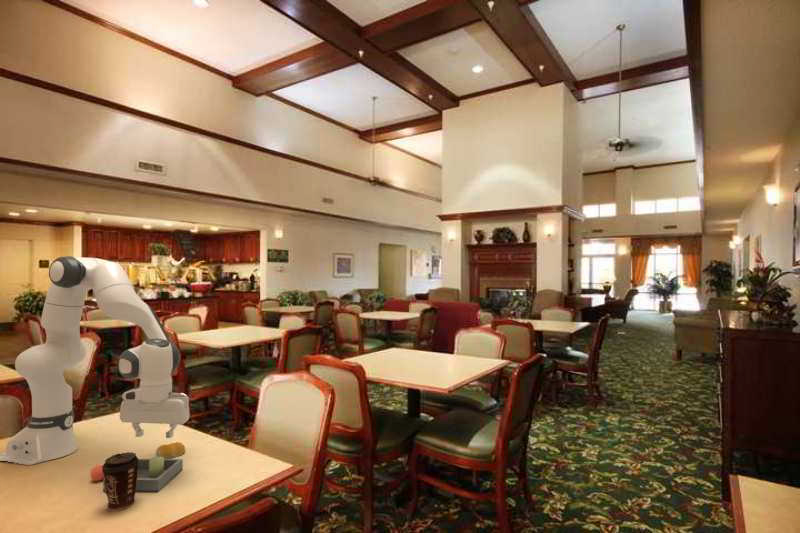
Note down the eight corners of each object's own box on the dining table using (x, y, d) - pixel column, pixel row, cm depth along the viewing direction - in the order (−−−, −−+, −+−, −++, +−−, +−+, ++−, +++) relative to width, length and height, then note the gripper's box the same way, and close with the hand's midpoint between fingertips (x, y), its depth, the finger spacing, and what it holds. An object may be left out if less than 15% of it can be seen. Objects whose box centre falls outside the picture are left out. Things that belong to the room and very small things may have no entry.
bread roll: (188, 454, 153) (188, 442, 153) (160, 462, 146) (161, 450, 146) (179, 447, 158) (179, 436, 158) (152, 455, 152) (152, 443, 152)
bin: (103, 491, 127) (103, 479, 127) (133, 469, 141) (133, 458, 141) (158, 492, 126) (158, 480, 126) (182, 469, 140) (182, 458, 140)
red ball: (86, 483, 131) (86, 468, 131) (97, 476, 136) (97, 462, 136) (101, 483, 131) (101, 468, 131) (111, 476, 136) (111, 462, 136)
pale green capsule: (153, 472, 137) (153, 456, 137) (166, 472, 137) (166, 456, 137) (146, 478, 133) (146, 462, 133) (159, 478, 133) (159, 462, 133)
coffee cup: (114, 496, 124) (114, 450, 124) (144, 495, 124) (145, 450, 125) (95, 514, 115) (95, 464, 115) (128, 512, 116) (128, 463, 116)
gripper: (194, 390, 138) (192, 434, 138) (130, 388, 139) (129, 431, 139) (183, 396, 132) (182, 441, 132) (117, 393, 132) (115, 439, 132)
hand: (154, 436), depth 135 cm, fingers open, 8 cm apart
